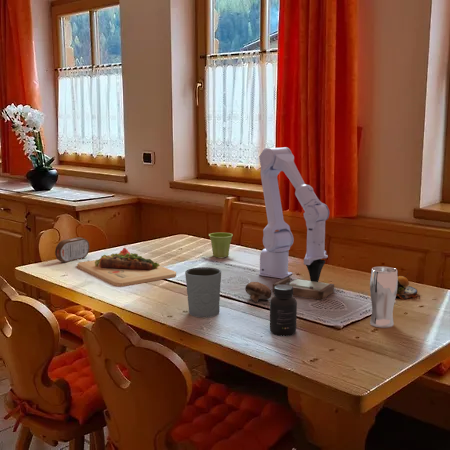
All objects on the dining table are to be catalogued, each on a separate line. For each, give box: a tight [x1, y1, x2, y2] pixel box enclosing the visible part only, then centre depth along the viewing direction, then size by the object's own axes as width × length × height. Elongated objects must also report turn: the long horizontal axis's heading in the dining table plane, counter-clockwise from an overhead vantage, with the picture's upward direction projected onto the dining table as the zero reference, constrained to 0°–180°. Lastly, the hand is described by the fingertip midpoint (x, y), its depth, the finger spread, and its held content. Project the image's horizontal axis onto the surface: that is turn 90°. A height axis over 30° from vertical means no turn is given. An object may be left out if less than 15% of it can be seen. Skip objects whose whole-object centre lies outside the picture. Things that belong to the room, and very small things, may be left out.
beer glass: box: [369, 266, 398, 329], centre depth 160 cm, size 7×7×15 cm
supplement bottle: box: [269, 285, 298, 337], centre depth 154 cm, size 7×7×12 cm
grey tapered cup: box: [185, 266, 222, 318], centre depth 170 cm, size 10×10×12 cm
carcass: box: [272, 276, 335, 301], centre depth 191 cm, size 16×10×3 cm, turn 59°
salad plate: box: [396, 272, 418, 300], centre depth 189 cm, size 12×12×8 cm
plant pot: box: [208, 232, 234, 259], centre depth 240 cm, size 9×9×9 cm
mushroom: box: [244, 281, 272, 303], centre depth 182 cm, size 8×8×6 cm
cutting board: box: [76, 247, 177, 287], centre depth 216 cm, size 35×23×8 cm
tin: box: [54, 236, 90, 263], centre depth 233 cm, size 15×3×8 cm, turn 144°
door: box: [290, 278, 330, 290], centre depth 195 cm, size 12×7×2 cm, turn 60°
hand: (314, 281), depth 199 cm, fingers closed
